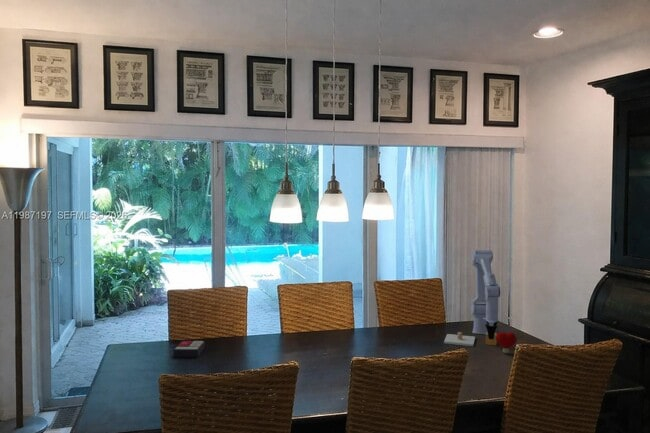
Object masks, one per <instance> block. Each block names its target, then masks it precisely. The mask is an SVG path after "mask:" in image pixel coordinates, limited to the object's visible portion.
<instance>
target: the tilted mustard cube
mask: <svg viewBox="0 0 650 433" xmlns="http://www.w3.org/2000/svg"><path fill="white" fill-rule="evenodd" d="M497 334H498V332H495V334H494V339H489V337H488V332H486V335H485V345H486V346H487V345H488V346H497V344H498V343H497V341H496V336H497Z"/></svg>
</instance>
